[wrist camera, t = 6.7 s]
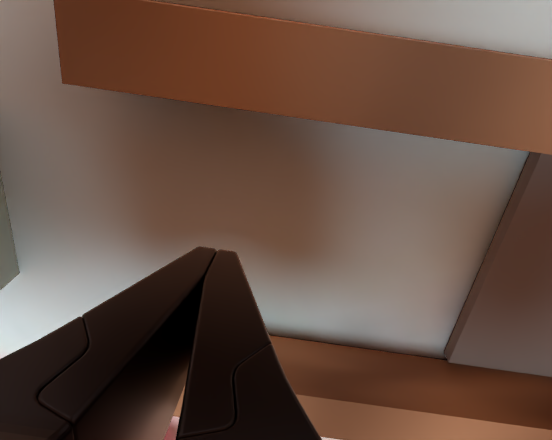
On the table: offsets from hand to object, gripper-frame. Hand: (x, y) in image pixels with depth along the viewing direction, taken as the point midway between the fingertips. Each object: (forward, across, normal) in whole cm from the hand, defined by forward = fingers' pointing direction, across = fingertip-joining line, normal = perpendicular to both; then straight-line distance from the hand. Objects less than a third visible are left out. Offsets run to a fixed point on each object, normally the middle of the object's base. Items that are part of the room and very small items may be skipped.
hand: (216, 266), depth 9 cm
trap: (+2, -9, 0) cm, 9 cm away
